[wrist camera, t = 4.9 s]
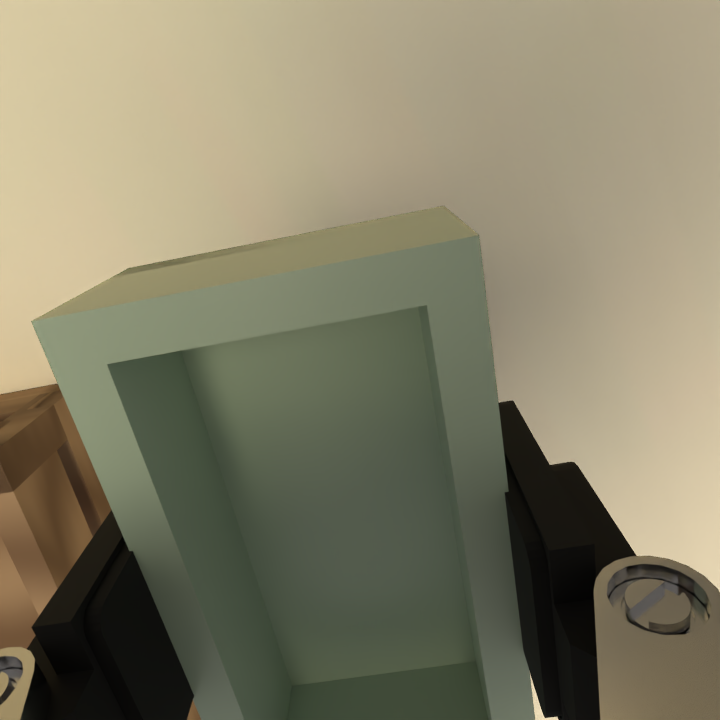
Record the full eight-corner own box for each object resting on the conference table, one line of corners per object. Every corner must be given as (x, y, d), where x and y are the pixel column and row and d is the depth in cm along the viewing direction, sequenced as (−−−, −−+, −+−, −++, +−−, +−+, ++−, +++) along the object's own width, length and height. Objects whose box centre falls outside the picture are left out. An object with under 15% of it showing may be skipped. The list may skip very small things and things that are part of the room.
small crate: (128, 268, 10) (30, 320, 7) (443, 205, 9) (478, 234, 6) (273, 684, 13) (249, 831, 10) (504, 652, 13) (544, 796, 10)
